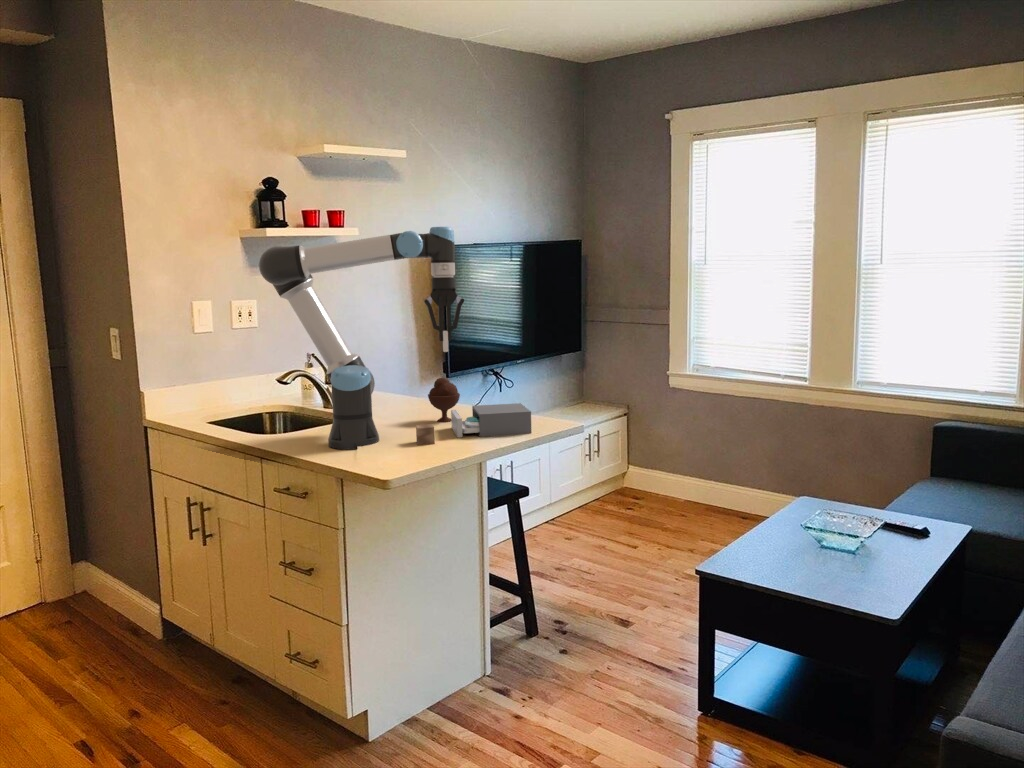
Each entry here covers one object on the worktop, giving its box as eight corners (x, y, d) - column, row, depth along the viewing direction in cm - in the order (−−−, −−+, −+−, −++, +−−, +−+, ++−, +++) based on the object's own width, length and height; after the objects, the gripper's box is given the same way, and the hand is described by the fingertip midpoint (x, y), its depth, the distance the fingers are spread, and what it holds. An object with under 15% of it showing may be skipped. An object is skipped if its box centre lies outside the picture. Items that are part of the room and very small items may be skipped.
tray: (457, 437, 252) (456, 418, 251) (451, 427, 268) (451, 410, 267) (509, 434, 255) (508, 415, 254) (500, 424, 271) (499, 407, 270)
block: (417, 444, 243) (417, 428, 243) (416, 441, 248) (415, 425, 248) (434, 443, 244) (434, 427, 244) (433, 440, 249) (432, 424, 248)
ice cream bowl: (422, 423, 278) (420, 379, 276) (440, 418, 287) (438, 375, 285) (449, 425, 273) (447, 380, 271) (466, 420, 282) (465, 376, 280)
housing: (480, 436, 253) (479, 414, 252) (472, 426, 270) (472, 405, 269) (531, 433, 256) (531, 411, 255) (521, 424, 272) (520, 403, 271)
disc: (466, 429, 257) (466, 420, 256) (464, 425, 265) (464, 416, 264) (492, 428, 258) (491, 419, 257) (489, 423, 266) (489, 415, 265)
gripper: (423, 277, 255) (425, 353, 259) (465, 276, 257) (467, 351, 261) (421, 277, 263) (424, 351, 266) (462, 276, 265) (464, 349, 268)
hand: (445, 351), depth 263 cm, fingers closed
